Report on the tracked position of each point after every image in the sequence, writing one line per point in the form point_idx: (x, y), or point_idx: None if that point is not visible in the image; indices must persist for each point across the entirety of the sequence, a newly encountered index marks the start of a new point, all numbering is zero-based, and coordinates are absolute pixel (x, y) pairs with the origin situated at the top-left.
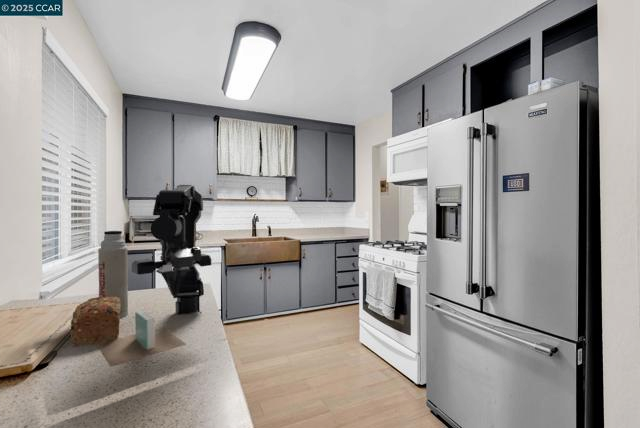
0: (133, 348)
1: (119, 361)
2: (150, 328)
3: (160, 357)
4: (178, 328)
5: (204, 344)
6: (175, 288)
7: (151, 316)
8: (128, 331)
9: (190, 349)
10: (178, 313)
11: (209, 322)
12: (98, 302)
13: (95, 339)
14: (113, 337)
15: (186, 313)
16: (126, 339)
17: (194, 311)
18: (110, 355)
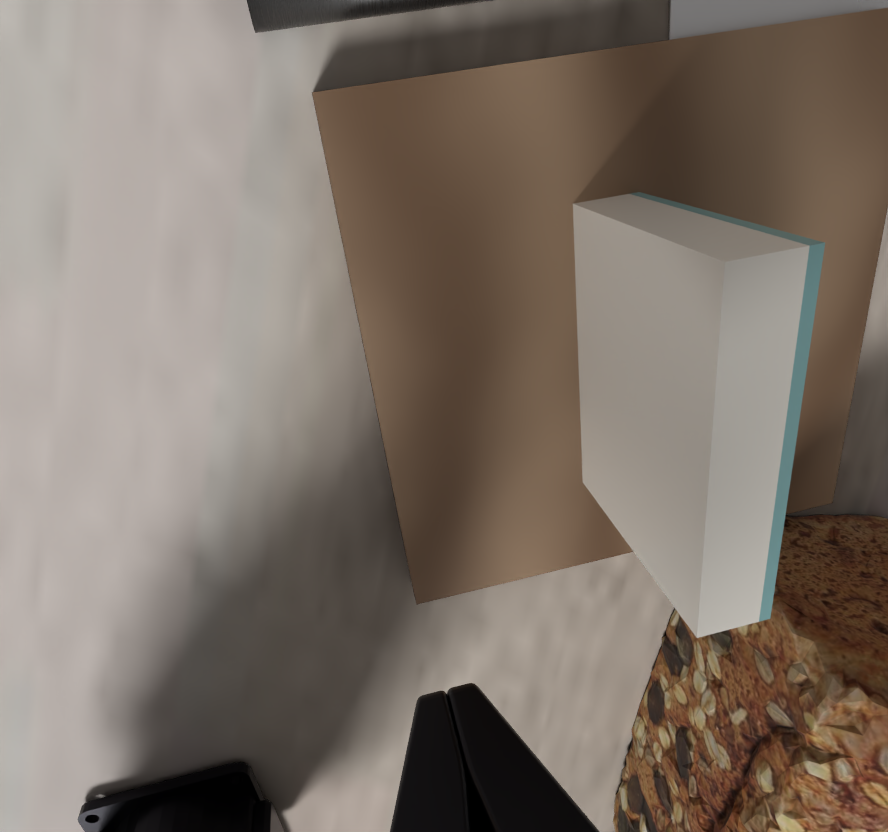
0: None
1: (852, 65)
2: (705, 231)
3: (547, 43)
4: (302, 596)
5: (121, 88)
6: (469, 811)
7: (718, 380)
8: (600, 671)
9: (277, 47)
10: (269, 817)
11: (24, 620)
12: None
13: (839, 543)
14: None
15: (207, 809)
16: None
17: (137, 826)
18: (849, 242)
